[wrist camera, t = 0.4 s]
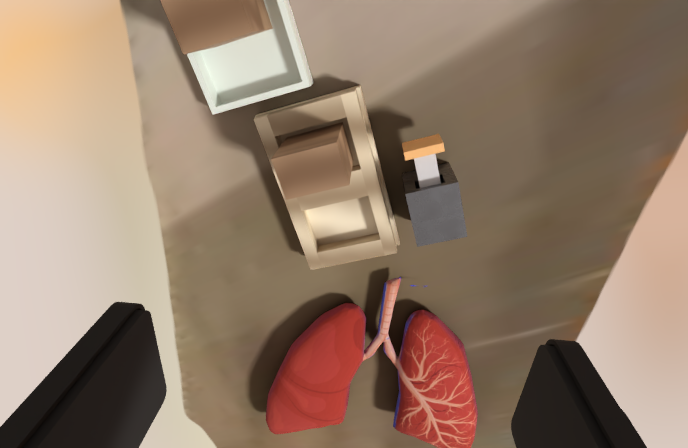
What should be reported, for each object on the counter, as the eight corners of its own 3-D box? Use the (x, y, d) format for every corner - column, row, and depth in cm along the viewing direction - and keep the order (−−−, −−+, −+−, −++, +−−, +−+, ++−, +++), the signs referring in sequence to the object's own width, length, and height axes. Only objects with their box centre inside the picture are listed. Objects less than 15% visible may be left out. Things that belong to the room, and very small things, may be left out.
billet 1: (196, 1, 37) (159, -1, 30) (257, -21, 35) (231, -27, 29) (214, 47, 38) (183, 54, 32) (272, 28, 37) (252, 32, 31)
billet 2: (286, 137, 41) (270, 159, 35) (342, 122, 40) (336, 142, 34) (299, 172, 43) (286, 200, 37) (353, 159, 42) (349, 185, 36)
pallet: (257, 114, 41) (249, 120, 39) (360, 84, 39) (359, 89, 37) (311, 257, 49) (307, 270, 47) (399, 239, 47) (400, 252, 45)
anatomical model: (458, 425, 65) (504, 267, 52) (471, 469, 59) (528, 301, 46) (268, 418, 63) (268, 254, 50) (260, 462, 57) (258, 286, 44)
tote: (149, -62, 35) (135, -67, 33) (257, -105, 33) (249, -112, 31) (220, 109, 42) (212, 114, 40) (313, 82, 40) (310, 86, 38)
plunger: (401, 143, 39) (403, 152, 37) (438, 133, 39) (443, 142, 36) (411, 187, 41) (414, 199, 39) (446, 179, 41) (451, 190, 38)
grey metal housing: (401, 173, 43) (405, 194, 38) (448, 162, 42) (458, 182, 37) (412, 221, 46) (417, 246, 41) (457, 211, 45) (467, 236, 40)
